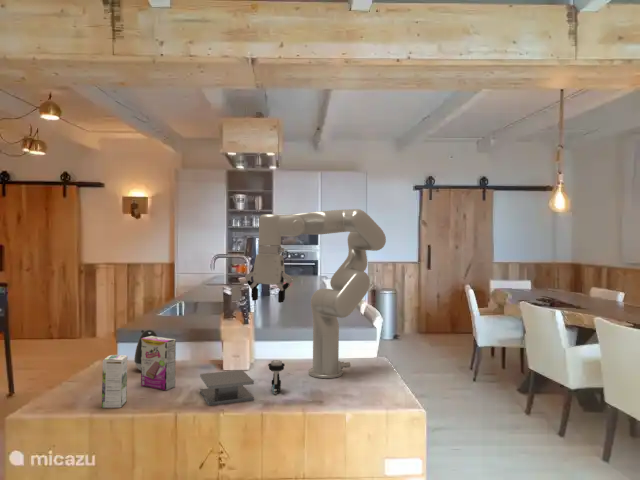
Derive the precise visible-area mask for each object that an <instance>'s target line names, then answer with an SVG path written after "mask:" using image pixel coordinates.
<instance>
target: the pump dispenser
mask: <svg viewBox="0 0 640 480" xmlns="http://www.w3.org/2000/svg"><path fill="white" fill-rule="evenodd" d="M148 336H155V337H159V336H158V334H157V332H155V331H154V330H152V329H146V330H143V329H141V335H140V336H139V338H138V341H137V344H136V347H135V354H134V360H133V361H134V362H133V363H135V366H136V368H137V370H139V371H140V372H141V338H144V337H148Z"/></svg>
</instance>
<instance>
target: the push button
mask: <svg viewBox="0 0 640 480" xmlns="http://www.w3.org/2000/svg"><path fill="white" fill-rule="evenodd" d="M268 369H269V370H270V371H271V372H273V377H272V380H271V389H270V390H271V392H272V394H273V395H278V394H279V392H281V391H282V387H281V386H282V385H281V384H282V380H281V379H280V377H281V376H280V372H282V371H283V370H284V369H285V363H283V361H282V360H280V359H276V360H274V359H273V360H271V361H270V363H268Z"/></svg>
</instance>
